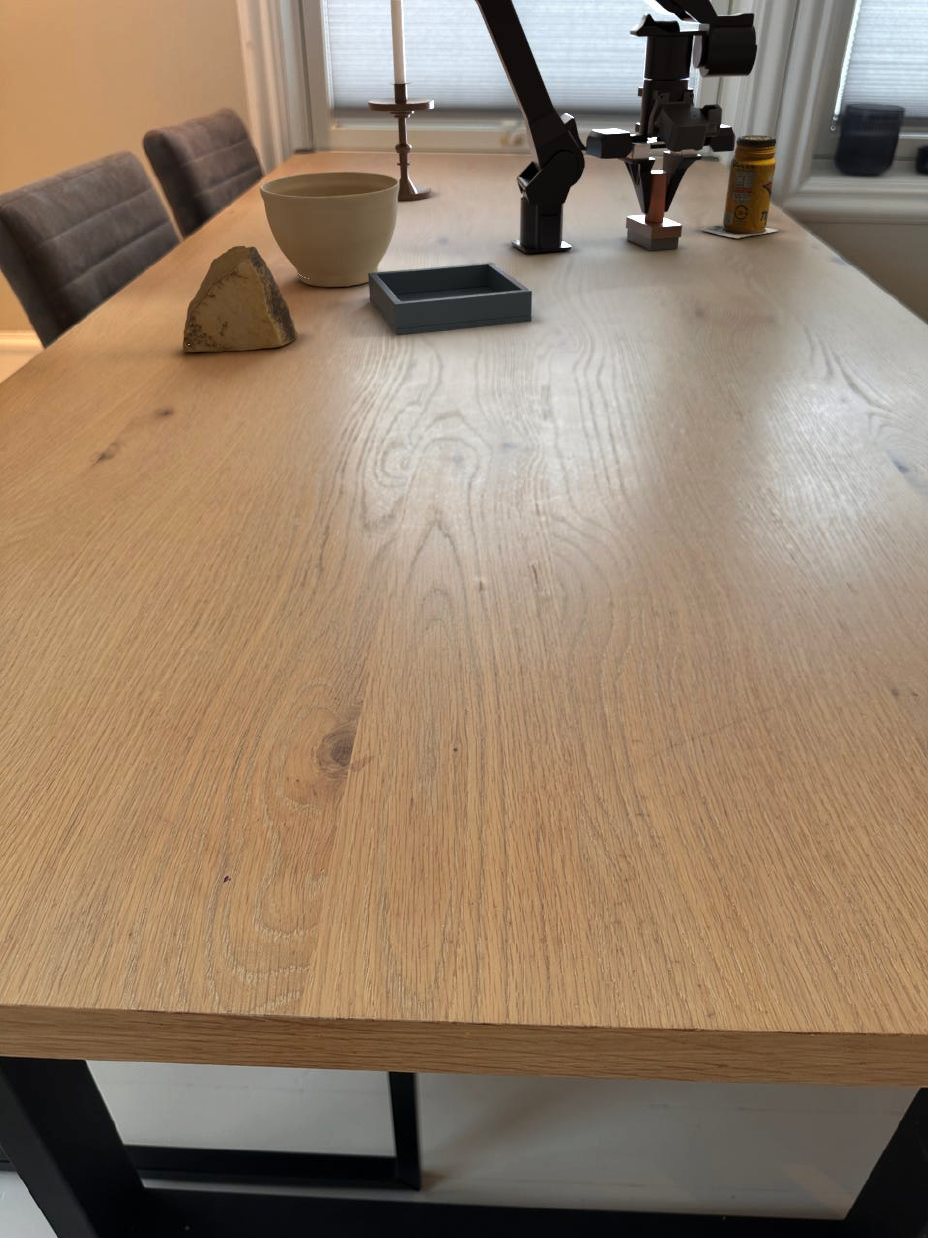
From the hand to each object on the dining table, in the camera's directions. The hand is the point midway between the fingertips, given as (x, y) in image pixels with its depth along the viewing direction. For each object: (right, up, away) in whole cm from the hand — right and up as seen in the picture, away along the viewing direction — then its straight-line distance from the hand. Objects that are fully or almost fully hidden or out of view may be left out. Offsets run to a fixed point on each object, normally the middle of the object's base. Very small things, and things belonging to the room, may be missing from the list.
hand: (654, 212), depth 127 cm
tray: (-27, -21, -23) cm, 42 cm away
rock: (-48, -28, -32) cm, 64 cm away
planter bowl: (-41, -13, -11) cm, 44 cm away
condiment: (+14, +1, +8) cm, 16 cm away
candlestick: (-36, +18, +36) cm, 54 cm away
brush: (0, -3, +2) cm, 4 cm away
